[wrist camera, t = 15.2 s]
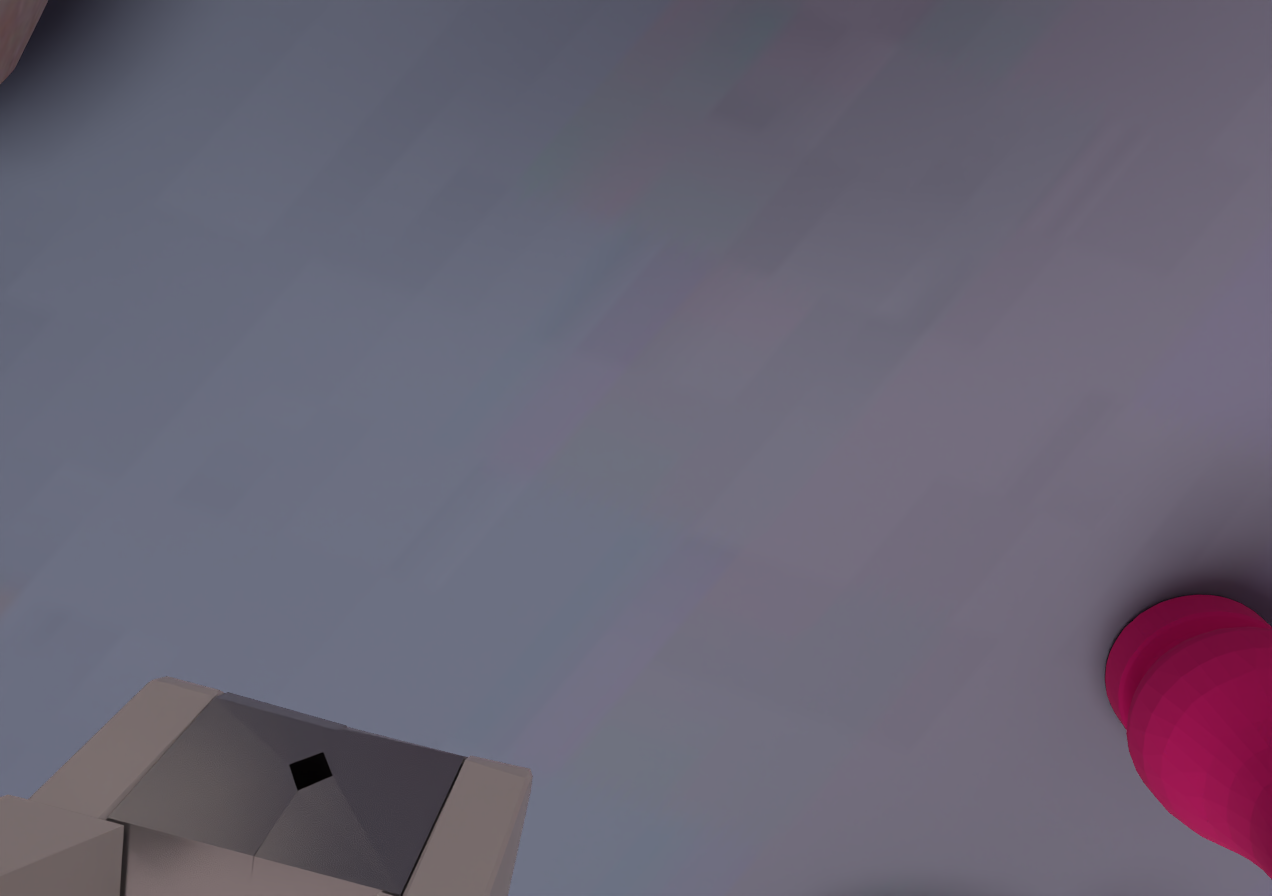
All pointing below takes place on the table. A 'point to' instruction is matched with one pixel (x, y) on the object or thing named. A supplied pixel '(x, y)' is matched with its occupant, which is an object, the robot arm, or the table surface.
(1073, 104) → the table surface
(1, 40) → the plant pot
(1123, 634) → the pepper mill
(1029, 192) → the table surface
